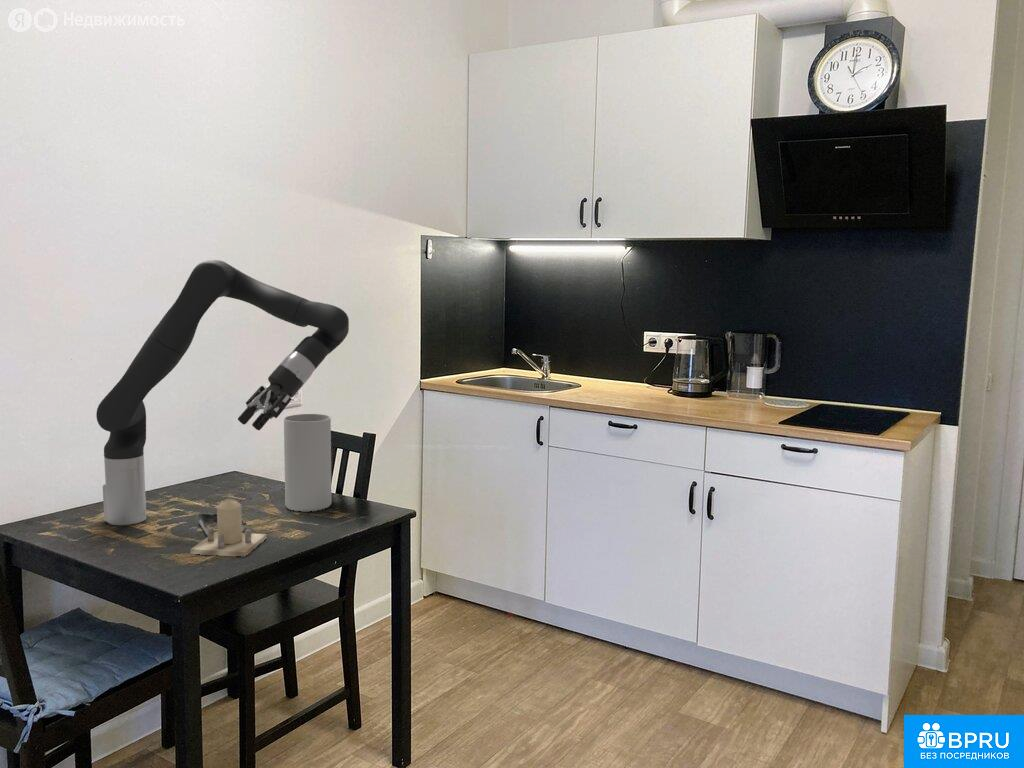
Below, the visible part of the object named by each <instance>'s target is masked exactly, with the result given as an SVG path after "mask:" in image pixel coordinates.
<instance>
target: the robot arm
mask: <svg viewBox="0 0 1024 768" xmlns="http://www.w3.org/2000/svg"><path fill="white" fill-rule="evenodd" d="M222 297H224V298H229V299H235V300H239V301H242V302H244V303H248V304H250V305H253V306H254V307H256V308H258V309H260V310H262V311H264V312H265V313H267V314H268V315H271V316H273V317H275V318H277V319H279V320H281V321H284V322H287V323H290V324H293V325H295V326H298V327H301V328H306V327H308V326H310V327H314V328H317V329H316V330H315V331H314V332H313V333H312V335H308V336H305V338H303V339H302V340H301V341H300V342H299V344H297V346H296V347H295V348H294V349H293V350H292V351H291V352H290V353H289V354H287V356H286V357H285V358H284V359H283V360H281V362H280V363H279V365H278V366H277V367H276V368H275V369H274V370H273V371H272V373H271V374H270V375H269V376H268V377H267V380H268V383H269V386H268V387H265V386H264V385H261V386H259V387H258V388H257V390H256V391H255V392H254V393H253V394H252V395H251V396H250V397H249V398H248V400H247V401H246V402H245V405H246V408H245V409H244V411H243V412H242V413H241V414H240V415H239V416H238V417H237V420H238V422H240V424H242V425H246V424H248V422H249V421H250V420H251V418H252V417H253V416H254V415H255V413H257V412H259V411H260V410H263V411H262V412H261V413H260V414H259V415H258V417H257V418H256V419H255V420H254V421H253V423H251V426H252V427H253V428H254V429H255V430H256V431H260V430H261V429H263V427H264V426H265V424H266V423H268V422H269V420H272V419H273V418H274V419H277V418H278V417H279V416H280V415H281V414H282V413H283V411H284V410H285V408H286V407H287V406H288V405H289V404H290V402H291V401H292V398H294V397H295V396H296V394H297V393H298V392H299V391H300V390H301V389H302V387H303V386H304V385H305V384H306V383H307V382H308V380H309V379H310V378H311V377H312V375H313V373H314V372H315V370H317V368H319V366H320V365H321V364H322V362H323V361H324V360H325V358H326V357H328V355H330V353H332V352H333V351H334V350H335V349H336V348H338V347H339V346H340V345H341V344H342V343H343V342H344V340H345V339H346V337H348V335H349V330H350V329H349V328H350V321H349V316H348V313H346V311H344V310H343V309H342V308H340V307H338V306H336V305H333V304H330V303H329V304H328V303H323V302H319V301H311V300H308V299H306V298H305V297H302V296H299V295H297V294H294V293H291V292H289V291H286V290H283V289H280V288H277V287H275V286H273V285H272V286H271V285H269V284H267V283H265V282H263V281H259V280H257V279H255V278H253V277H251V276H250V275H247V274H246V273H244V272H242V271H240V270H239V269H237V268H235V267H234V266H232V265H231V264H228V263H227V262H226V261H223V260H219V259H218V260H217V259H212V260H210V259H209V260H204V261H201V262H199V263H198V264H197V265H196V266H195V267H194V268H193V270H192V271H191V273H190V275H189V277H188V278H187V281H186V282H185V284H184V286H183V287H182V289H181V292H180V293H179V295H178V297H177V299H176V300H175V301H174V302H173V304H172V305H171V307H170V308H169V309H168V311H166V312H165V314H164V315H163V316H162V318H161V320H160V321H159V322H158V324H157V325H156V326H155V327H154V329H153V330H152V331H151V333H150V334H149V336H148V337H147V339H146V340H145V341H144V344H143V345H142V347H141V348H140V350H138V352H137V354H136V356H135V357H134V358H133V360H132V361H131V363H130V364H129V366H128V367H127V369H126V370H125V372H124V374H123V375H122V377H121V378H120V379H119V381H118V382H117V383H116V384H115V385H114V386H113V388H112V389H111V390H110V391H109V392H108V393H107V394H106V396H104V398H103V399H102V400H101V401H100V403H99V404H98V406H97V408H96V414H95V417H96V422H97V423H98V425H99V427H100V428H101V429H103V430H105V431H106V432H110V433H109V437H108V439H107V441H106V443H105V445H104V448H103V457H104V479H105V484H103V485H102V501H103V504H102V505H103V521H104V522H106V523H108V524H109V525H111V526H129V525H135V524H139V523H142V522H144V521H146V520H147V499H146V479H145V475H146V474H145V459H144V458H145V457H144V453H145V452H144V448H145V444H146V442H147V411H146V406H145V402H144V400H145V398H146V396H148V394H149V393H150V392H151V391H152V389H153V388H154V387H156V386H158V384H159V383H161V381H163V380H164V379H165V378H166V376H167V375H169V374H170V373H171V372H172V371H173V370H174V369H175V368H176V366H177V365H178V364H179V362H180V361H181V359H183V356H184V355H185V354H186V353H187V351H188V349H189V348H190V346H191V344H192V343H193V340H194V337H195V334H196V333H197V329H198V327H199V326H198V325H199V324H200V322H201V320H202V318H203V316H204V314H206V312H207V311H208V310H209V308H210V307H211V306H212V305H213V304H214V302H216V301H217V300H218V299H219V298H222Z"/></svg>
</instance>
